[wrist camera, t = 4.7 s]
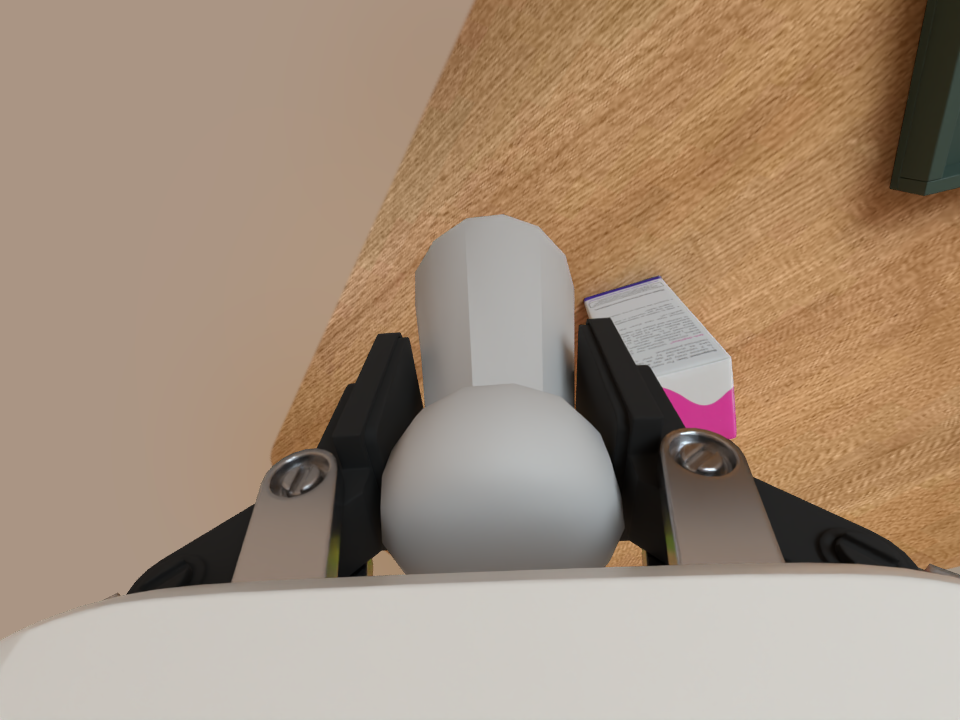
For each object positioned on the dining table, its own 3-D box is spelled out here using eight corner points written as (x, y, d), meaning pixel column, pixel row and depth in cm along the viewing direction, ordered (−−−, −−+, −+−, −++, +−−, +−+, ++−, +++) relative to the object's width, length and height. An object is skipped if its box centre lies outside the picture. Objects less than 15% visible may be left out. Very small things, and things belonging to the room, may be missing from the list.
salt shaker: (435, 340, 20) (366, 659, 9) (409, 210, 17) (250, 448, 6) (565, 327, 19) (668, 648, 8) (562, 191, 16) (721, 409, 5)
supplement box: (579, 298, 32) (619, 385, 22) (660, 273, 31) (740, 352, 21) (595, 361, 35) (637, 463, 25) (670, 340, 34) (745, 438, 24)
